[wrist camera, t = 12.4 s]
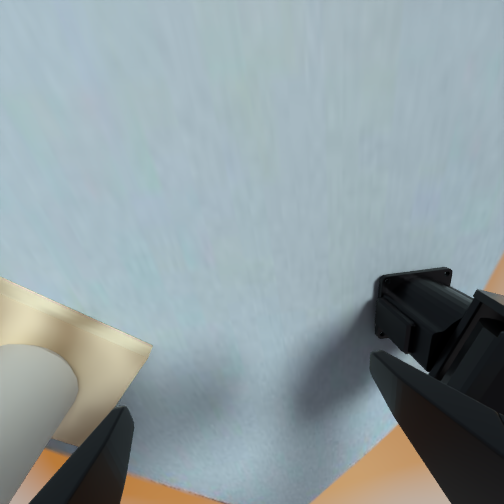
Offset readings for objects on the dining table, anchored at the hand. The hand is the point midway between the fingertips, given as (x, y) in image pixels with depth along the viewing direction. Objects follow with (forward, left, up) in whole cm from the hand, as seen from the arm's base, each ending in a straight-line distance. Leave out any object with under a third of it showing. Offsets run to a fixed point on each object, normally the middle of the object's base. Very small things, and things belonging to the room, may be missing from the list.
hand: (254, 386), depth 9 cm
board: (+18, +7, -12) cm, 22 cm away
